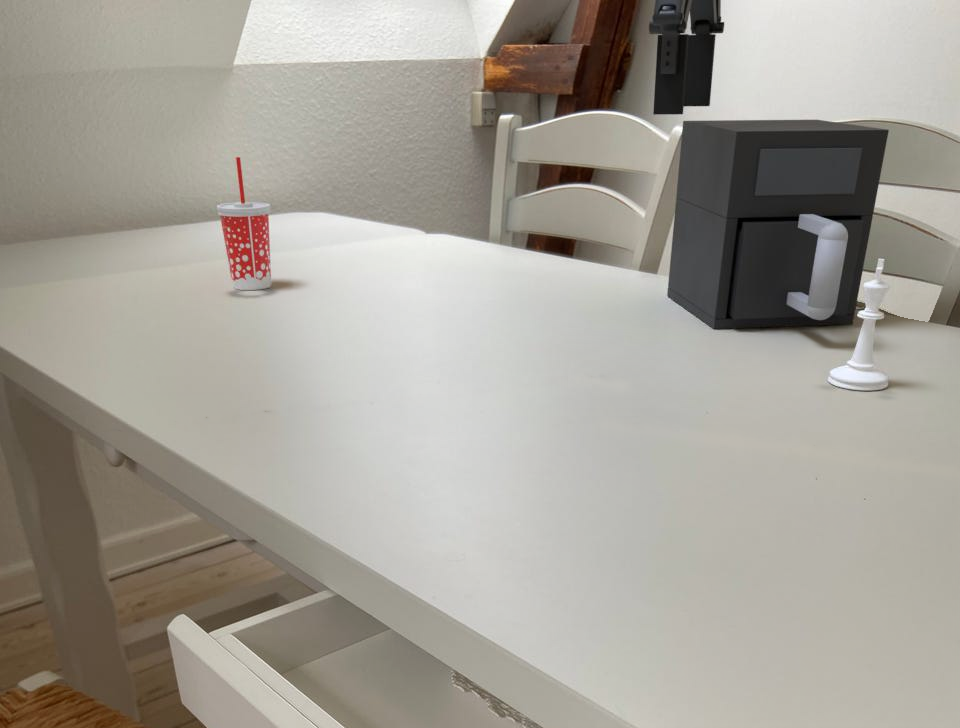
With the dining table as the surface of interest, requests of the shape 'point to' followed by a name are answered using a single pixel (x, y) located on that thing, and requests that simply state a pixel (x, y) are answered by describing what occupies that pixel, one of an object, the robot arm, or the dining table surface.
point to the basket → (793, 267)
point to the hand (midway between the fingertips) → (682, 110)
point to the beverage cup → (247, 240)
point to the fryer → (764, 200)
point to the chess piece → (865, 343)
